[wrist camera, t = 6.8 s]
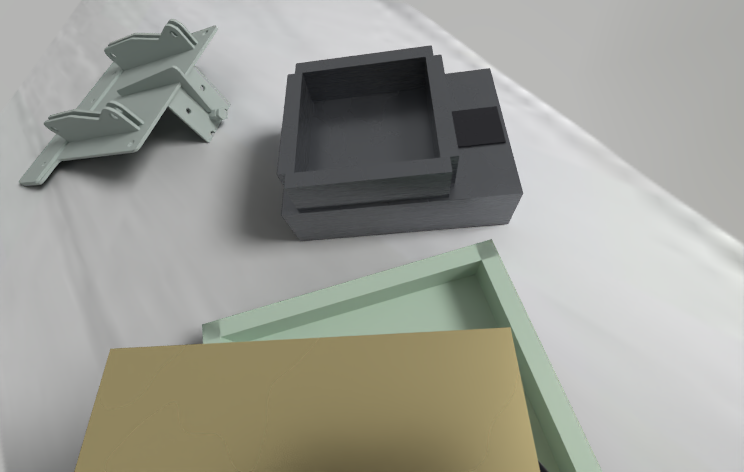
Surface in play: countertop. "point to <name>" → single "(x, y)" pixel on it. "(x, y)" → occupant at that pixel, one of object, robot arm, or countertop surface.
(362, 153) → the dark grey stepped fixture
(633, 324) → the countertop surface
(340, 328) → the parts tray
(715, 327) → the countertop surface
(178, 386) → the tan note paper block
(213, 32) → the metal bracket
